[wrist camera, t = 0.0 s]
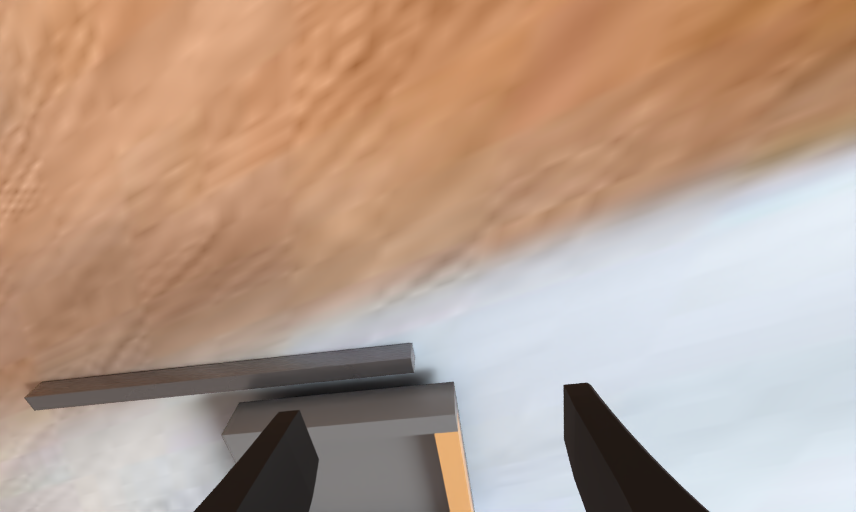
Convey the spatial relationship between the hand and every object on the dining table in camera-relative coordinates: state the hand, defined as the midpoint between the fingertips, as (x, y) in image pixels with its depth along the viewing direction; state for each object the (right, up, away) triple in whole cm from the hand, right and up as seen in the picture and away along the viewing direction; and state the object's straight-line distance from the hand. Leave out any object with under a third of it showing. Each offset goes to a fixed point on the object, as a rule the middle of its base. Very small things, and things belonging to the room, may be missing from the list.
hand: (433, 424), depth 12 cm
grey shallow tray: (-4, -8, +15) cm, 18 cm away
